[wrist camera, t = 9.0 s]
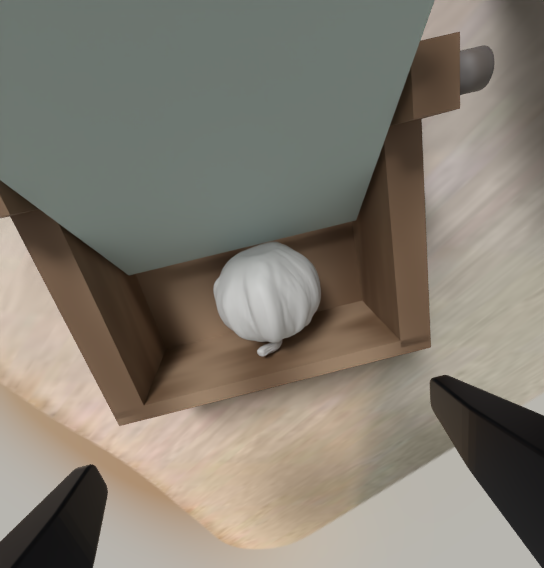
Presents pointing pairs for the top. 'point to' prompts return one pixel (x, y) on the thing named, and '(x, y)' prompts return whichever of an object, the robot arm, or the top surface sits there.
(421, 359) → the top surface
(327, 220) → the trapdoor plate
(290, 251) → the garlic
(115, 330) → the frame
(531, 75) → the top surface
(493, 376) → the top surface
